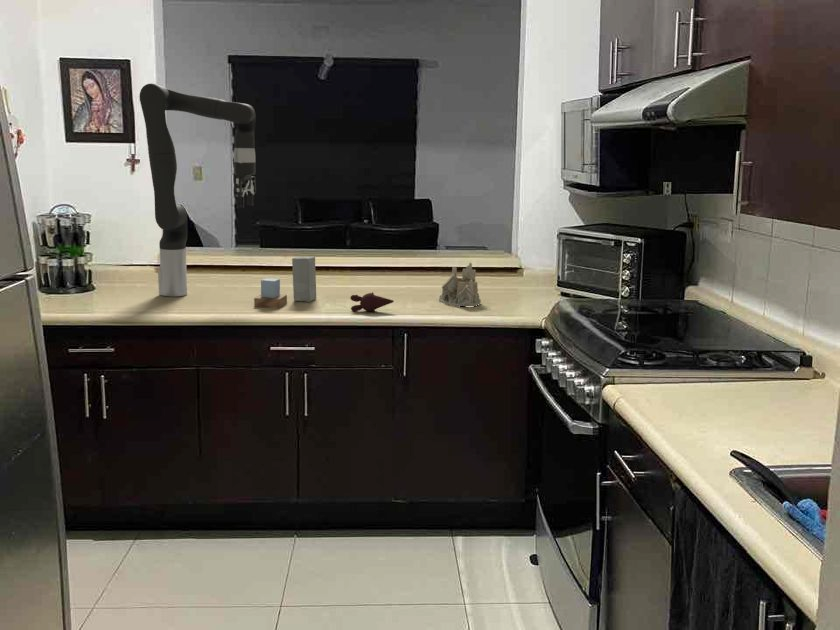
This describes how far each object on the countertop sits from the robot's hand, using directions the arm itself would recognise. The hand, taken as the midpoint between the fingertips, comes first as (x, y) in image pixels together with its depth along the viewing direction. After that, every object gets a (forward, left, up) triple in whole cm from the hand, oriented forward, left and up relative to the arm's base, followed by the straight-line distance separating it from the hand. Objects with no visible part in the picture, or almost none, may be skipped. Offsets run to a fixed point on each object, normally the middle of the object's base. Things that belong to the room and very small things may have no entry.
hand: (245, 206), depth 314 cm
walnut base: (+14, -12, -34) cm, 38 cm away
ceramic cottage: (+77, +14, -34) cm, 85 cm away
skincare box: (+22, +1, -33) cm, 40 cm away
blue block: (+14, -12, -30) cm, 35 cm away
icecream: (+51, -11, -33) cm, 62 cm away
